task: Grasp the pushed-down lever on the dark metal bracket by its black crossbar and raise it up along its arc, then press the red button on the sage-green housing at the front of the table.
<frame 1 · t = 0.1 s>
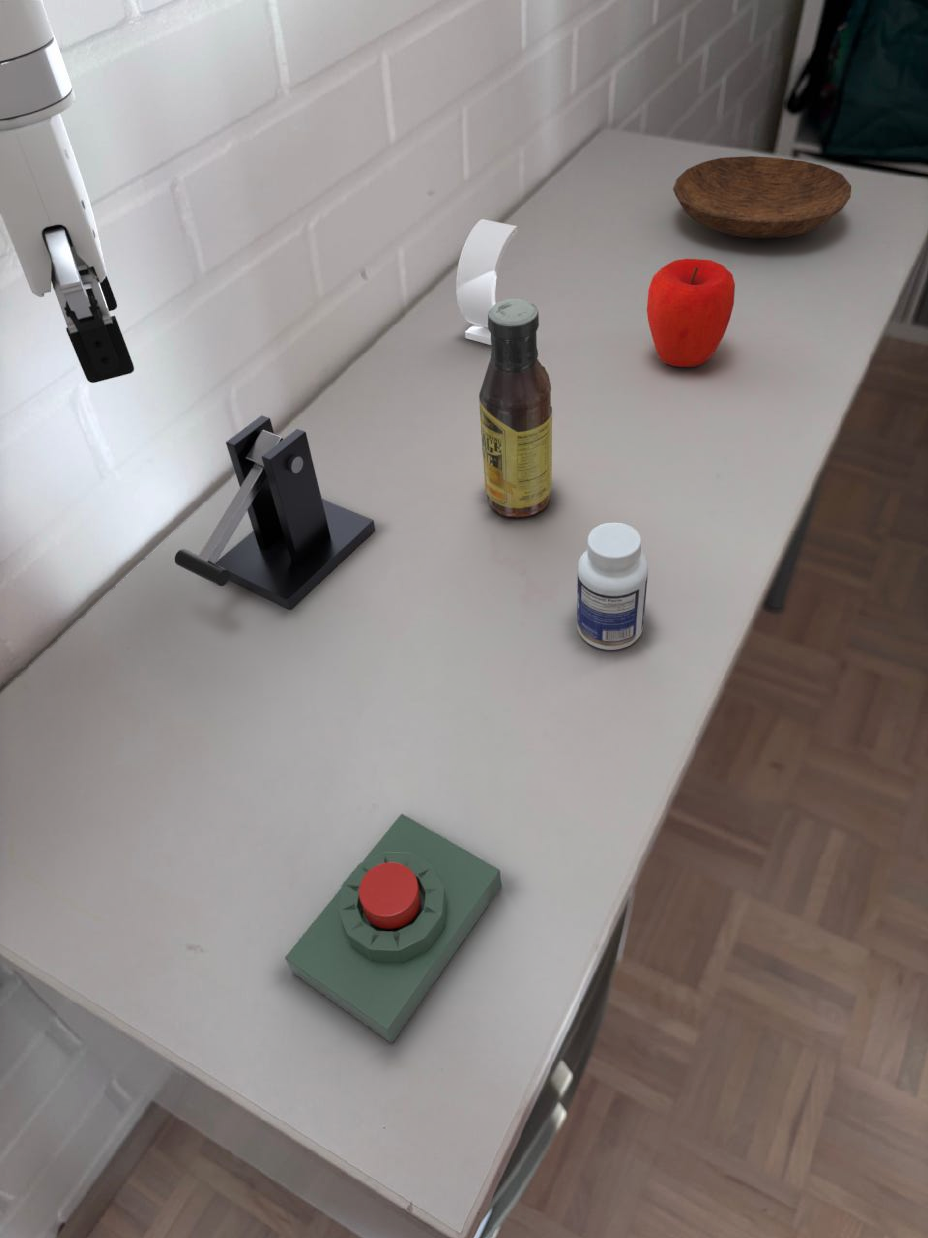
hand: (104, 342, 68), 24 cm above the table, tool pointing down, fingers open, 9 cm apart
headphone stand: (491, 336, 111), on the table
button: (390, 895, 58), point 4 cm above the table, slide at 0.1 cm
lever: (238, 506, 78), point 9 cm above the table, hinge at -26.0°
bracket: (297, 551, 87), on the table
pill bottle: (609, 629, 78), on the table
sauce bottle: (519, 503, 90), on the table
apple: (683, 362, 104), on the table
bowl: (755, 226, 125), on the table
button box: (399, 928, 61), on the table
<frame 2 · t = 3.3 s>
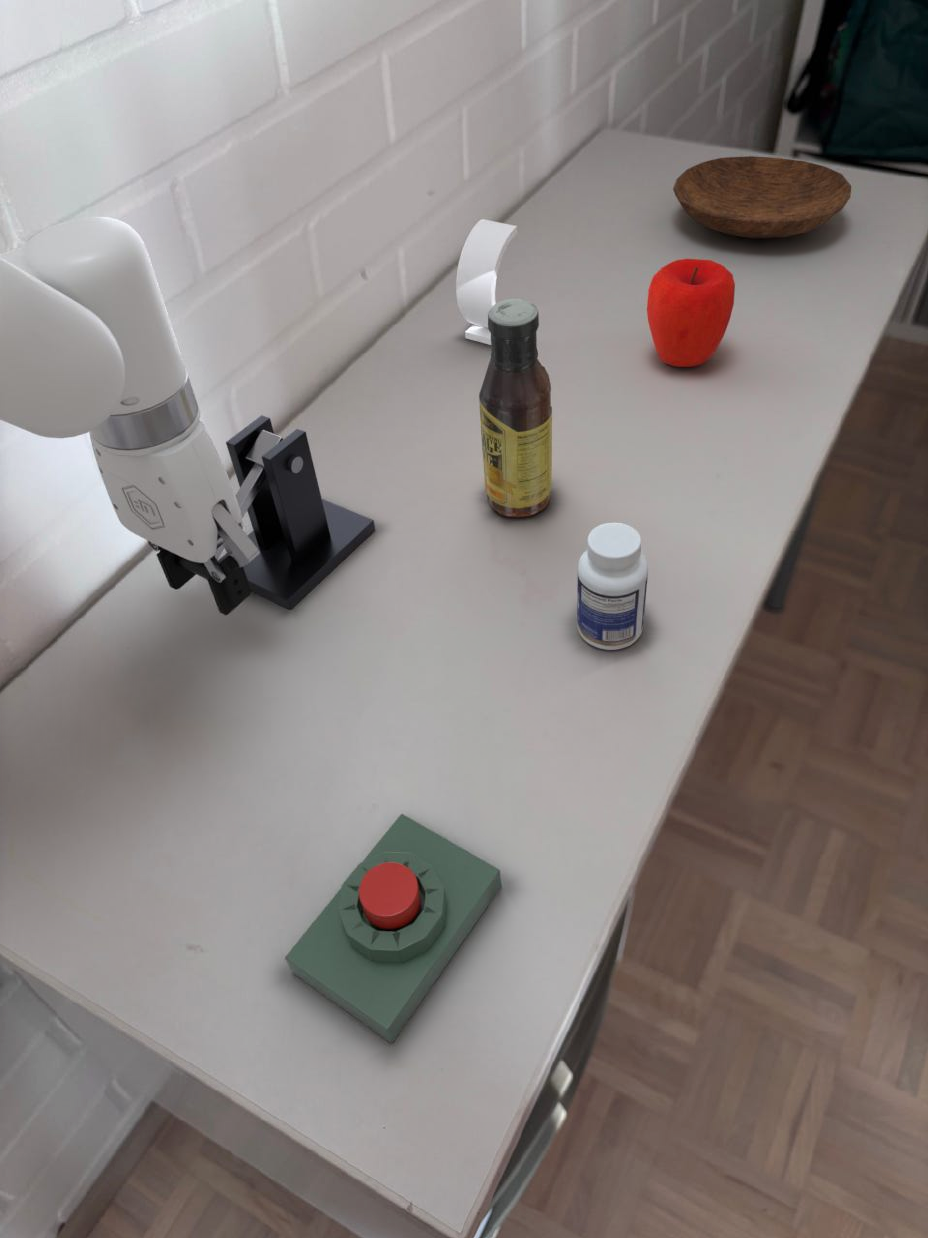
hand: (210, 589, 79), 4 cm above the table, tool pointing down, fingers closed on lever, 5 cm apart
lever: (238, 506, 78), point 9 cm above the table, hinge at -26.0°, touching gripper
everything else where it was.
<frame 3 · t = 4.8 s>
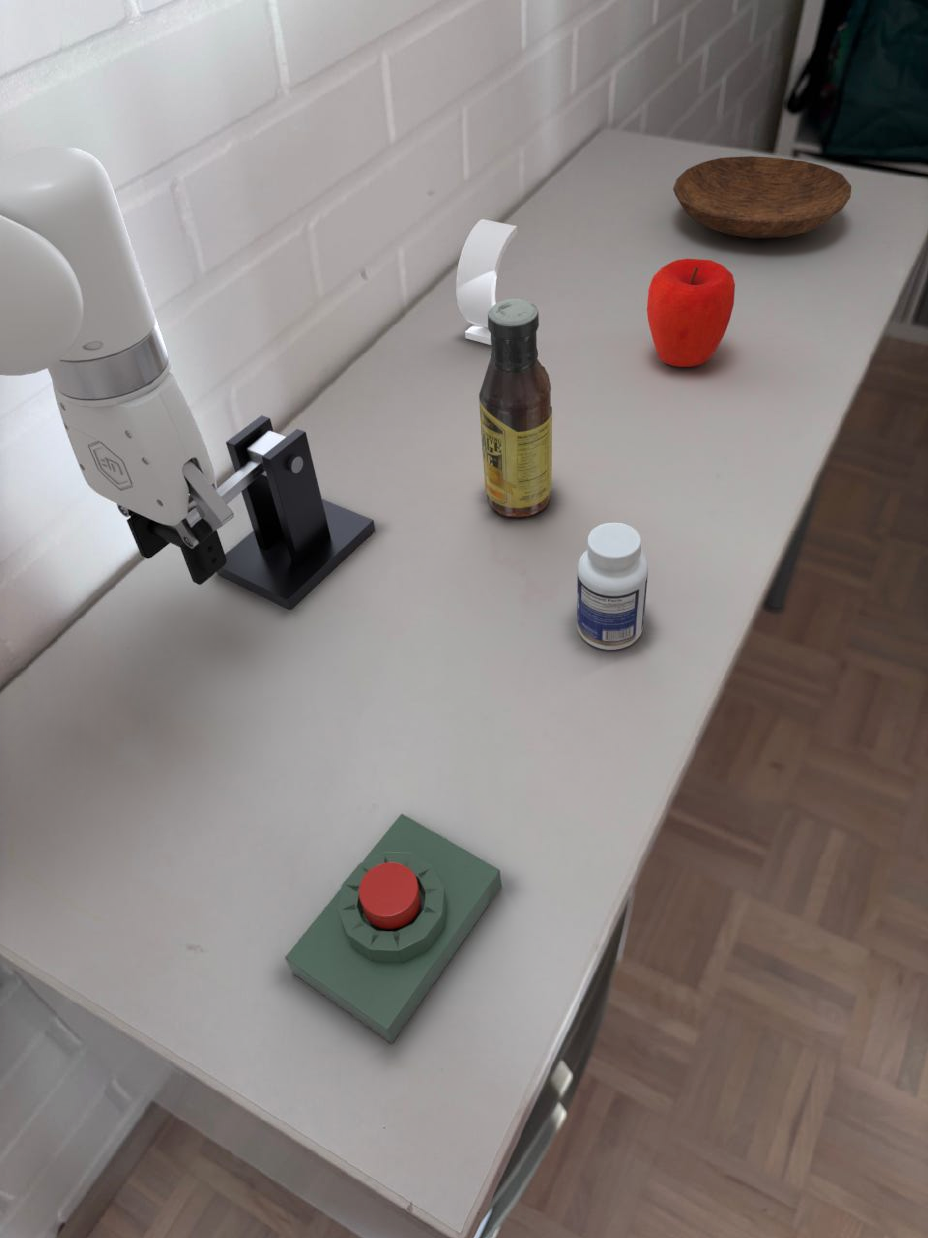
hand: (184, 558, 75), 8 cm above the table, tool pointing down, fingers closed on lever, 5 cm apart
lever: (228, 491, 76), point 11 cm above the table, hinge at -2.6°, touching gripper
everything else where it was.
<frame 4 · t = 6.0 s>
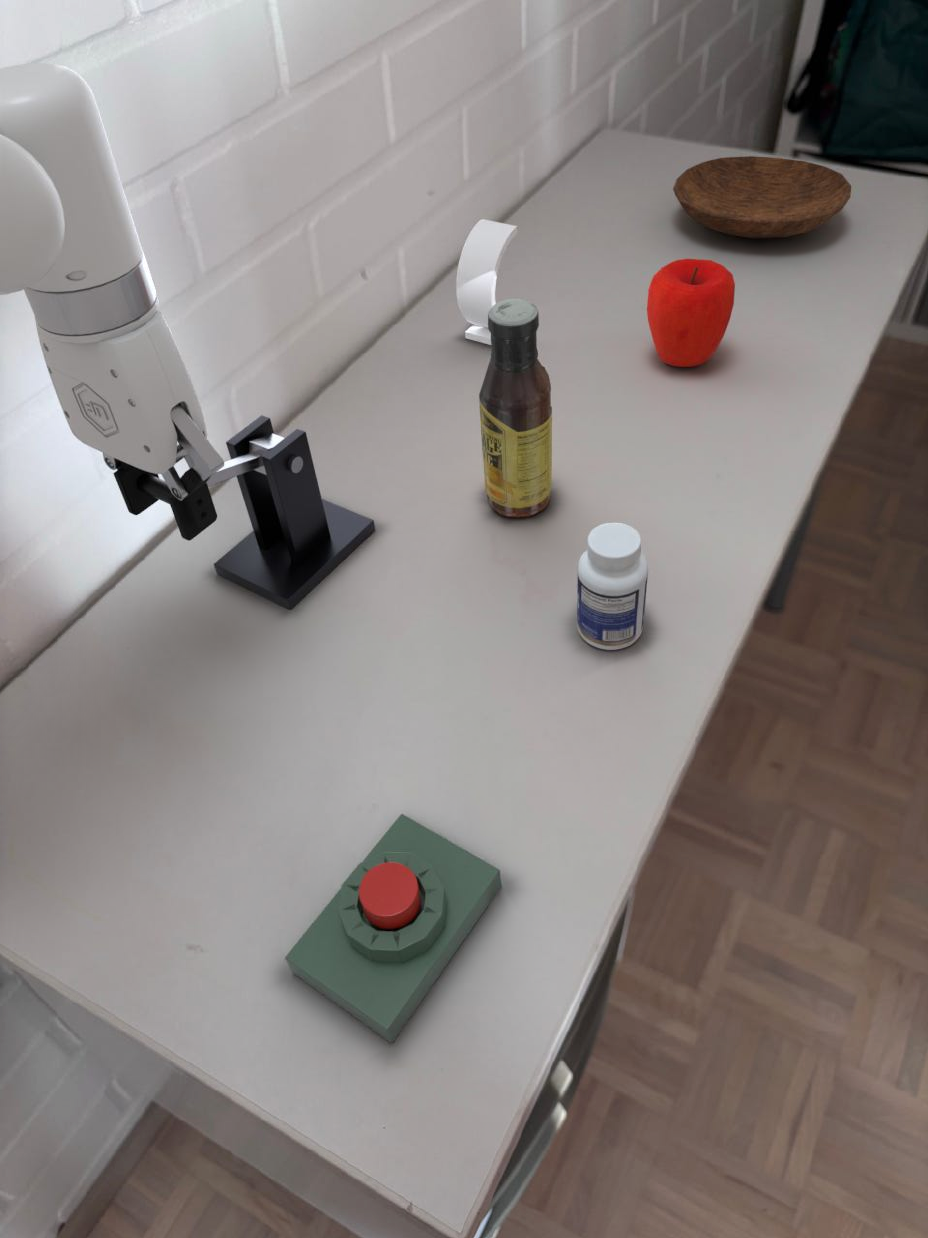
hand: (173, 514, 72), 12 cm above the table, tool pointing down, fingers closed on lever, 5 cm apart
lever: (224, 471, 75), point 13 cm above the table, hinge at 18.1°, touching gripper
everything else where it was.
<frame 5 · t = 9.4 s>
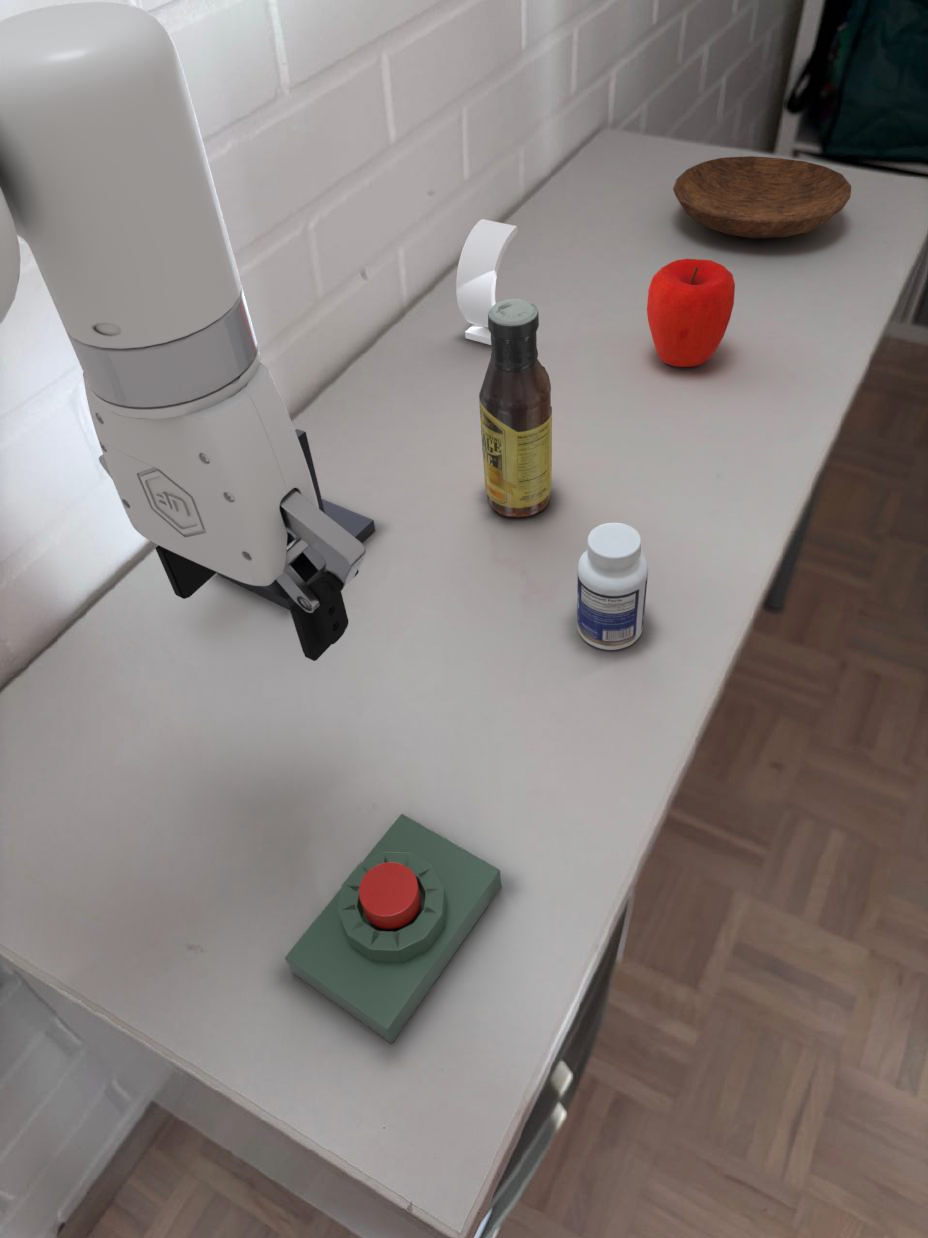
hand: (261, 611, 54), 20 cm above the table, tool pointing down, fingers open, 9 cm apart
lever: (224, 472, 75), point 13 cm above the table, hinge at 17.2°
everything else where it was.
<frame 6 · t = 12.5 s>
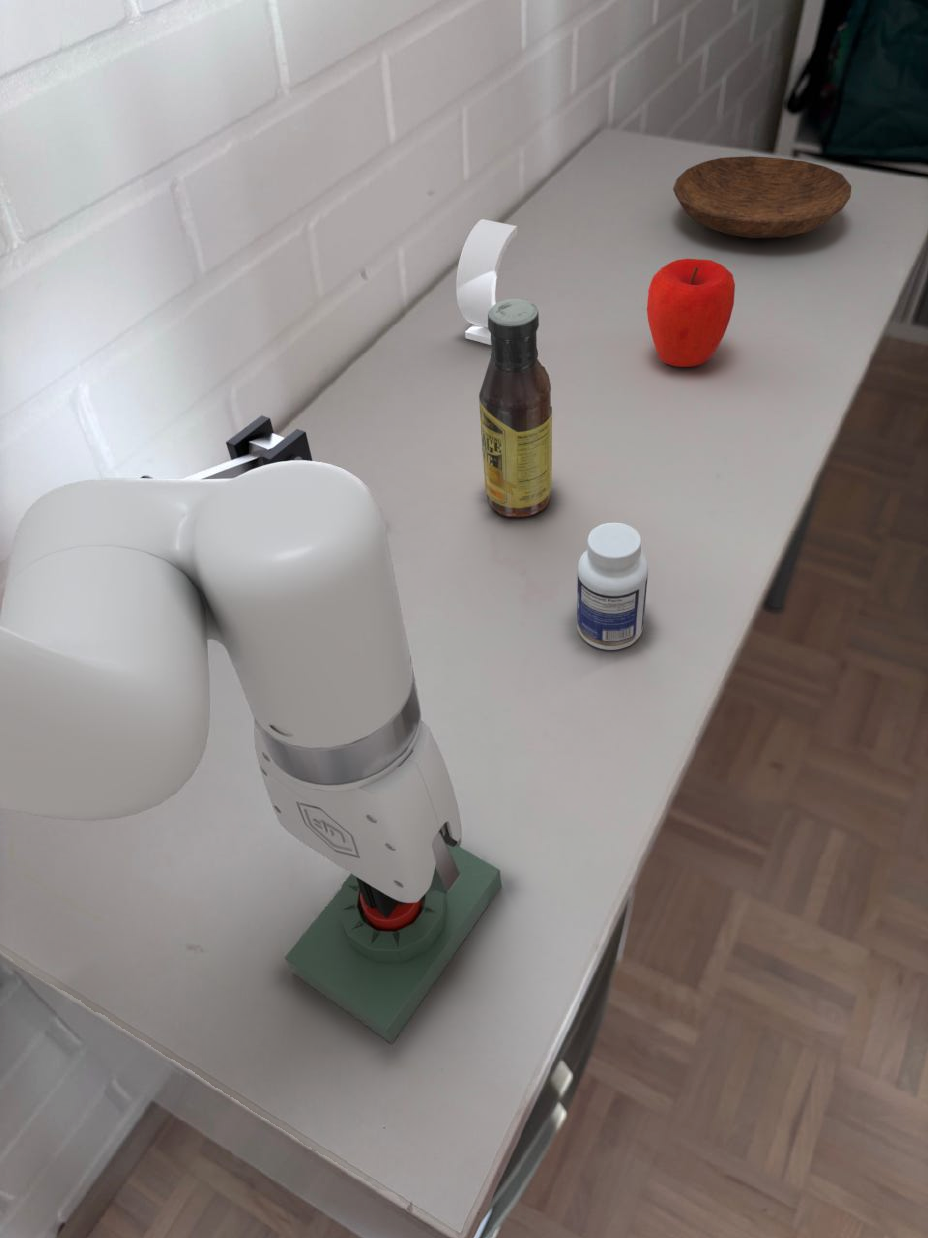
hand: (392, 892, 58), 5 cm above the table, tool pointing down, fingers closed
button: (391, 899, 58), point 4 cm above the table, slide at -0.4 cm, touching gripper
everything else where it was.
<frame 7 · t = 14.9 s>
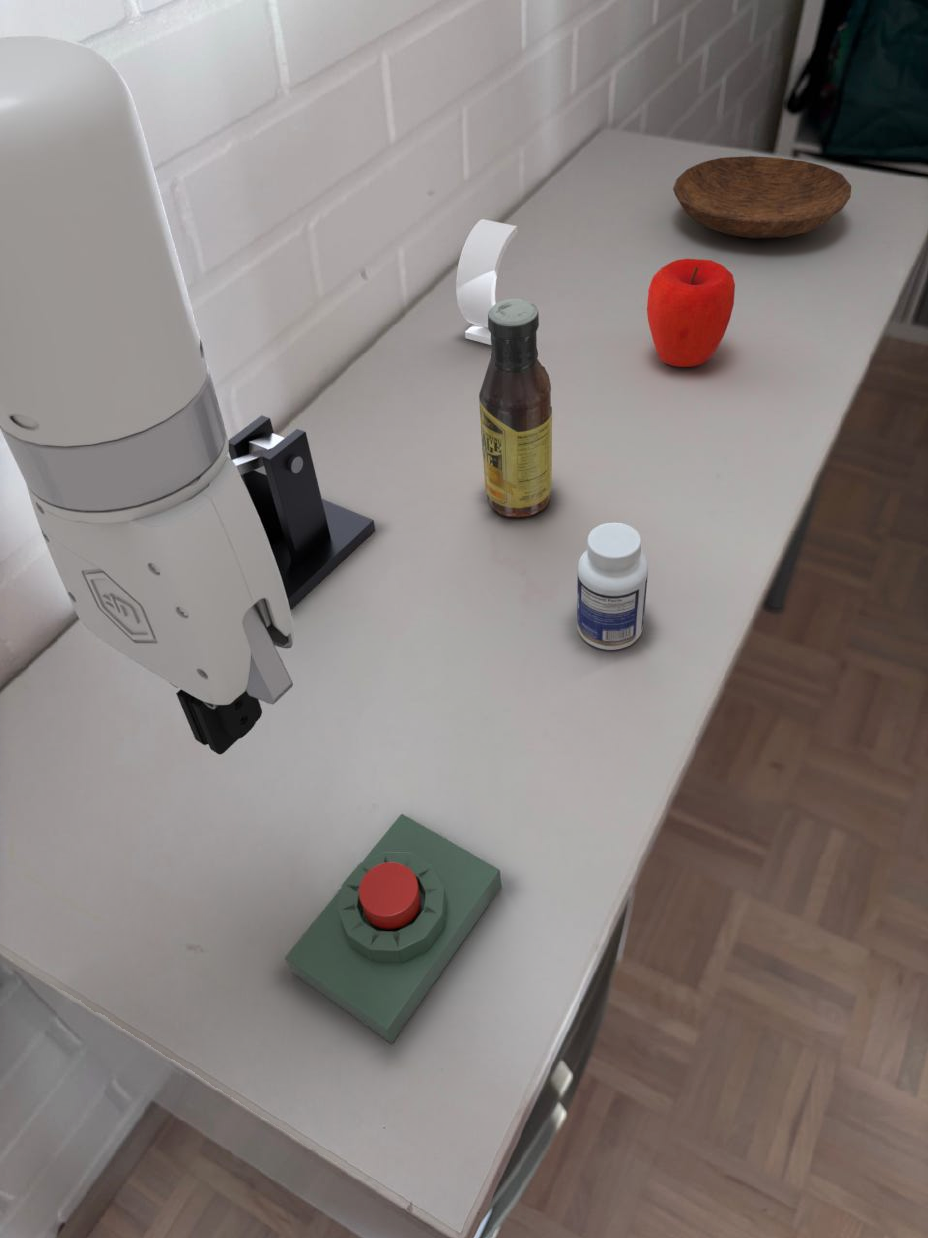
hand: (230, 728, 48), 20 cm above the table, tool pointing down, fingers closed
button: (390, 895, 58), point 4 cm above the table, slide at 0.1 cm
everything else where it was.
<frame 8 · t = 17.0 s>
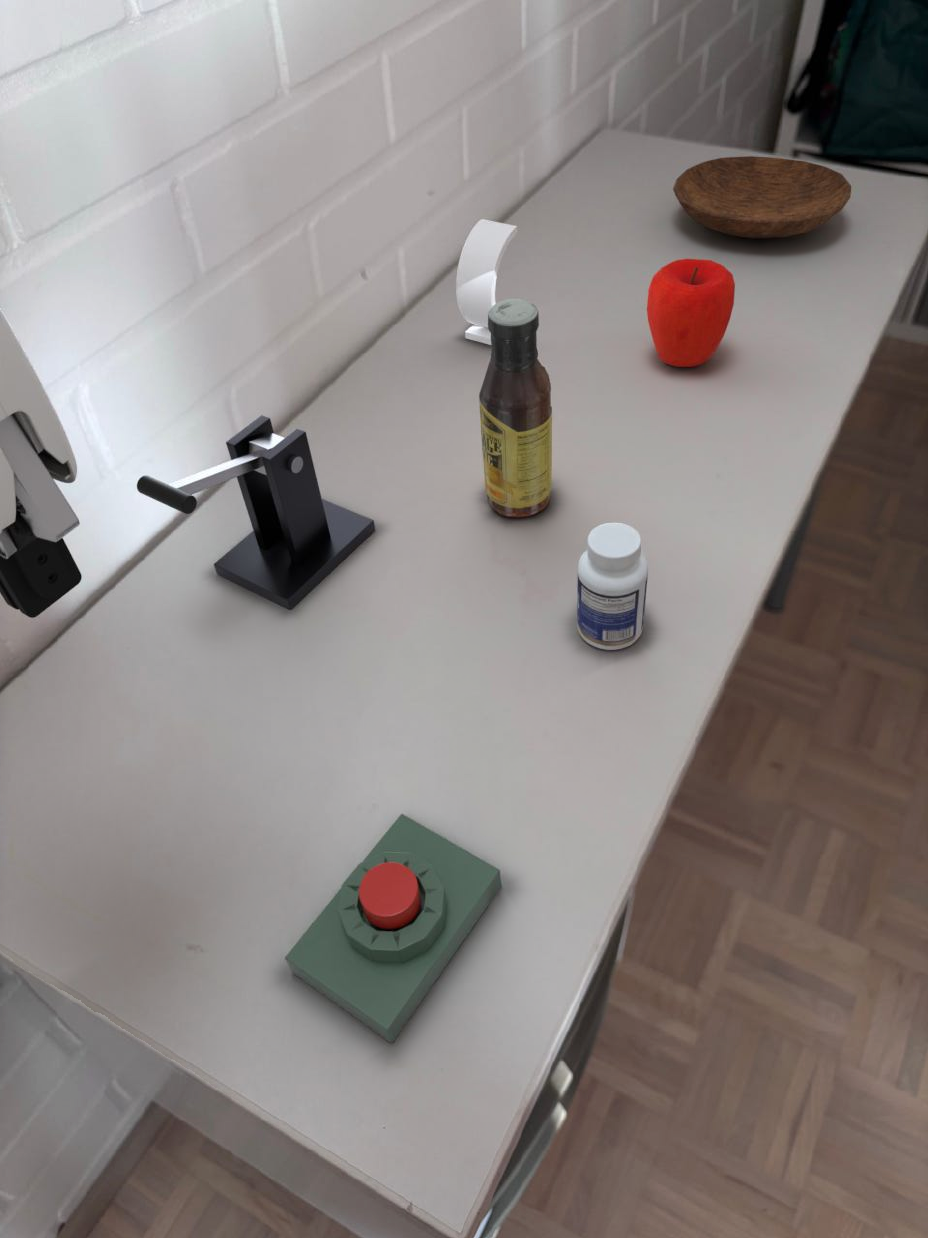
hand: (47, 593, 45), 27 cm above the table, tool pointing down, fingers closed
nothing on the table moved.
at the end: lever at +17° (first picture: -26°); button pushed in 1.1 cm at the most during the clip, back to where it started at the end; button slide at 0.1 cm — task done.
